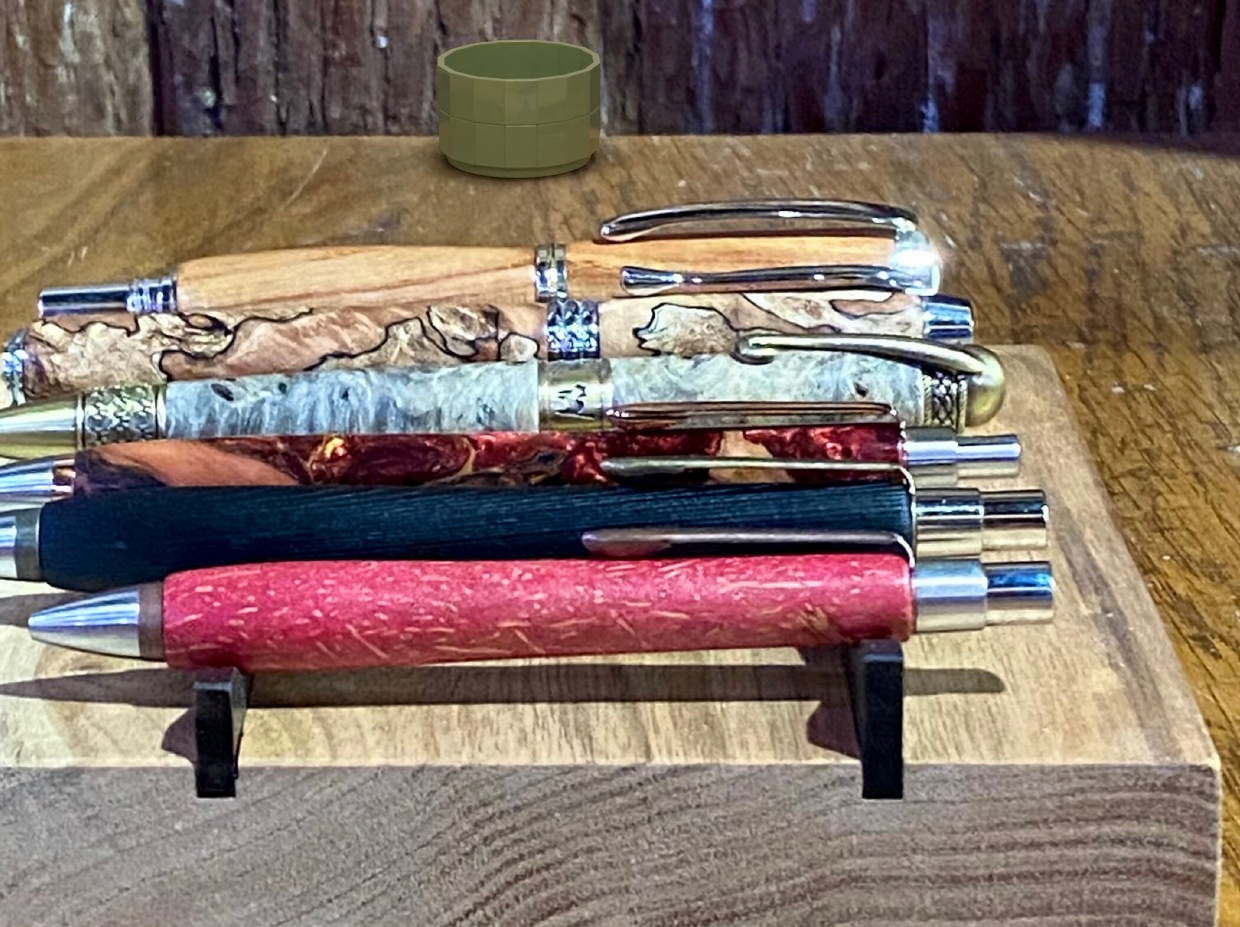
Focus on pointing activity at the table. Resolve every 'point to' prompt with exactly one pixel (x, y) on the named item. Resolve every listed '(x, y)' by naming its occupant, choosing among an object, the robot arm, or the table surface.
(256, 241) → the table surface
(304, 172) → the table surface
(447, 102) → the bowl
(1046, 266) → the table surface
